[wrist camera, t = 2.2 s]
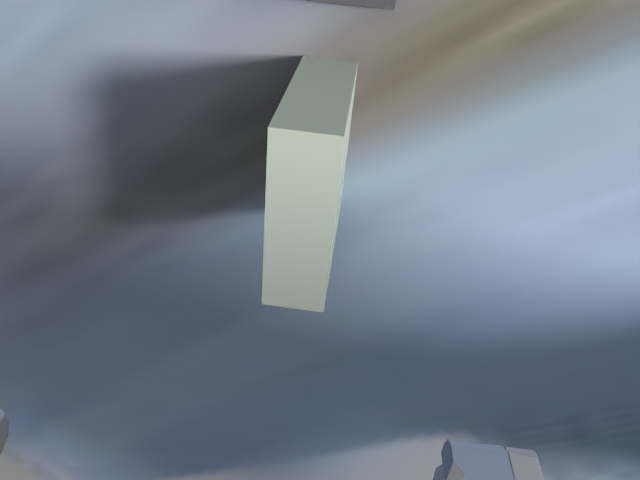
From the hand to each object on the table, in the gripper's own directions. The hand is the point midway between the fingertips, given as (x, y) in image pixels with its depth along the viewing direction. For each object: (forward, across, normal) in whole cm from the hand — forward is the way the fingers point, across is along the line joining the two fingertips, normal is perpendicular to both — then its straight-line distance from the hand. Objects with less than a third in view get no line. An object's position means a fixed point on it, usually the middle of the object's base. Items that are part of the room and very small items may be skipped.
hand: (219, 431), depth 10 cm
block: (+14, -1, 0) cm, 14 cm away
